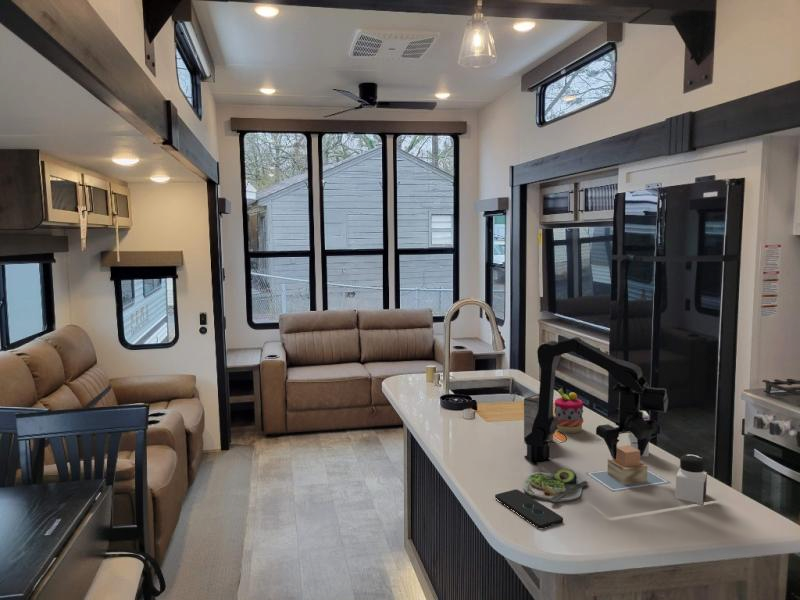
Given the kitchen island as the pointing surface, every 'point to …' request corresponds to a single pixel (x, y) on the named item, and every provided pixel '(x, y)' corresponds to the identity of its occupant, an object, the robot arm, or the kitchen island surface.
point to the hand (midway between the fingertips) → (627, 457)
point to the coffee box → (531, 414)
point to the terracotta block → (627, 456)
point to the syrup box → (633, 440)
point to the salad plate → (555, 485)
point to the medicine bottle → (691, 480)
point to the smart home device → (529, 508)
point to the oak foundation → (627, 472)
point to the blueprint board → (617, 486)
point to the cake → (569, 413)
